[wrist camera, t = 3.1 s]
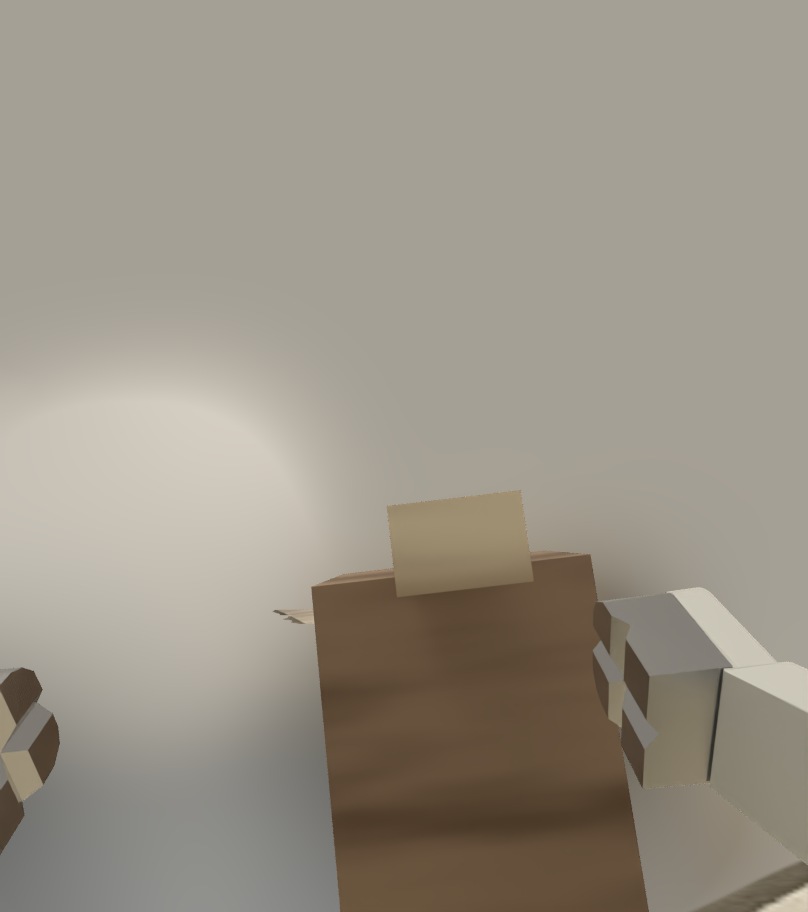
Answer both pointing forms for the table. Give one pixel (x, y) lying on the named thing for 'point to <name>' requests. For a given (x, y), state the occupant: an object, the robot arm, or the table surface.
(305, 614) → the table surface
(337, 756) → the pedestal
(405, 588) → the slat
